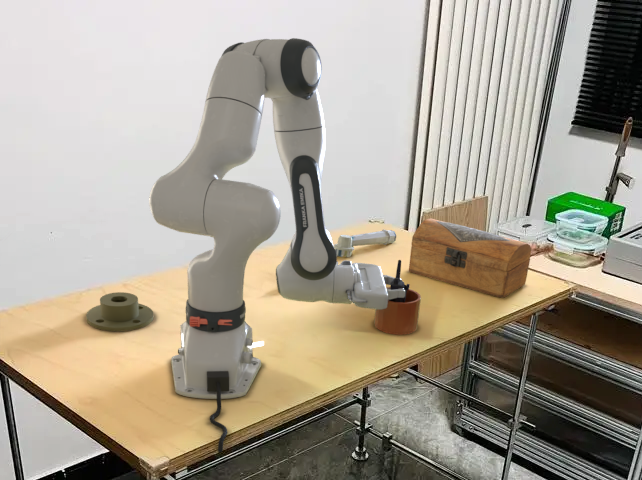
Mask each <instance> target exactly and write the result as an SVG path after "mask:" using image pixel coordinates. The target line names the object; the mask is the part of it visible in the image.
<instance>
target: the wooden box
mask: <svg viewBox="0 0 642 480" xmlns="http://www.w3.org/2000/svg"><path fill="white" fill-rule="evenodd" d="M410 247H411V248H410V256H409V265H408V272H409V273H412V274H415V275H420V276H422V277H426V278H430V279H433V280H436V281H439V282H443V283H446V284H449V285H454V286H458V287H462V288H466V289H469V290H473V291H474V292H478V293H482V294H486V295H488V296H492V297H496V298H499V299H504V298H506V297H507V296H509V295H511V294H513V293H514V292H516V291H517V290H519V289H520V288H521V287H523V286H525V285H526V282H527V278H528V272H529V268H530V263H531V256H532V247H531V245H530V244H529V243H527V242H525V241H521V240H517V239H513V238H509V237H505V236H502V235H498V234H495V233H492V232H488V231H485V230H480V229H476V228H473V227H469V226H466V225H461V224H456V223H452V222H447V221H442V220H438V219H434V218H431V217H430V218H426V219H424V220H423V221H422V222H420V224H419V226H418V227H417V228H416V230H415V231H414V233H413V235H412V237H411V246H410Z"/></svg>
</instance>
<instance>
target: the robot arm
mask: <svg viewBox="0 0 642 480" xmlns="http://www.w3.org/2000/svg"><path fill="white" fill-rule="evenodd" d="M322 70H323V67H322V60H321V56H320V54H319V52H318V49H316V47H315V46H314V44H313V43H312V42H311V41H309V40H306V39H302V38H295V37H293V38H289V39H287V38H285V39H284V38H271V39H270V38H262V39H261V38H260V39H256V40H250V41H247V42H237V43H234V44H232V45H230V46H228V47H226V49H224V51H222V54H221V57H220V58H219V59H218V61H217V63H216V66H215V68H214V70H213V73H212V76H211V79H210V82H209V85H208V89H207V93H206V96H205V102H204V107H203V111H202V116H201V120H200V125H199V129H198V132H197V135H196V139H195V141H194V143H193V145H192V147H191V149H190V151H189V152H188V154H187V155H186V156H185V158H183V160H182V161H181V162H180V163H179V164H178V165H177V166H176V167H175V168H173V169H171V171H169V172H167V173H166V174H164V175H161V176H160V177H158V179H156V181H155V182H154V183H153V185H152V187H151V189H150V192H149V196H148V197H149V198H148V206H149V211H150V214H151V216H152V218H153V219H154V221H155V222H156V223H157V224H158V225H161V226H163V227H165V228H167V229H170V230H173V231H175V232H178V233H184V234H190V235H191V234H192V235H198V236H206V237H210V238H213V248H212V249H209V250H207V251H203V252H202V253H199V254H198V255H195V256H194V257H193V258H192V259H191V261H190V262H189V264H188V266H187V270H186V271H187V272H186V274H187V300H186V301H185V321H184V322H183V323H181V324H180V327H179V328H180V347H178V349H177V354H176V355H173V356H171V359H170V364H171V371H172V372H171V373H172V378H173V385H174V392H175V393H176V394H177V395H180V396H184V397H187V398H193V399H195V398H196V399H207V400H216V411H215V412H214V413H213V414H211V415H210V416H209V419H208V420H209V422H210V424H211V425H213V426H215V427H216V428H219V429H221V431H222V433H221V435H220V437H219V438H218V439H219V440H218V446H217V447H218V448H217V452H218V453H223V449H224V441H225V439H226V437H227V436H228V429H227V427H226V425H224V424H222V423H220V422H218V421H217V420H215V419H216V418H218V416H219V415H220V414H221V411H222V400H226V399H228V400H229V399H235V398H240V397H244V396H246V395H247V394H248V392H249V390H250V388H251V386H252V384H253V382H254V381H255V378H256V376H257V374H258V373H259V370H260V369H261V367H262V360H261V359H260V358H258V357H256V356H254V354H253V352H254V350H253V349H254V348H258V347H263V346H265V341H264V340H261V341H255V342H254V340H253V328H252V326H250V325H249V324H248V322H247V321H246V312H247V310H246V309H247V308H246V301H245V300H244V283H245V282H244V281H245V272H246V267H247V263H248V261H249V259H250V257H251V256H252V253H254V251H255V250H256V249H257V248H258V247H259V246H260V245H261V244H263V243H264V242H266V241H268V240H269V239H270V238H271V237H272V236H273V235H274V234H275V233H276V231H277V229H278V228H279V225H280V222H281V217H282V216H281V214H282V211H281V206H280V202H279V200H278V198H277V196H276V194H275V193H274V192H273V191H272V190H270V189H268V188H264V187H262V186H259V185H256V184H253V183H251V182H243V181H237V180H229V179H224V177H225V176H226V175H227V173H229V171H231V170H233V169H235V168H236V167H239V166H241V165H244V164H246V163H247V162H249V161H250V160H251V159H252V158H253V156H254V154H255V152H256V148H257V145H258V139H259V133H260V129H261V123H262V118H263V112H264V106H265V98H266V99H270V100H271V102H272V124H273V125H272V126H273V133H274V140H275V144H276V149H277V154H278V156H279V160H280V162H281V165H282V169H283V171H284V174H285V176H286V179H287V182H288V184H289V188H290V191H291V198H292V205H293V214H294V222H295V223H294V224H295V232H294V234H293V236H292V239H291V241H290V244H289V247H288V249H287V251H286V253H285V255H284V257H283V258H282V260H281V262H279V264H278V265H277V266H276V268H275V280H276V288H277V291H278V293H279V296H281V297H282V298H283V299H286V300H288V301H289V300H290V301H293V302H295V301H296V302H303V303H317V302H326V303H329V304H341V305H352V304H354V306H355V307H358V308H362V309H369V310H375V309H379V310H382V309H386V308H387V304H388V299H390V300H391V299H394V298H397V297H398V298H404V297H405V289H404V288H397V289H395V290H391V289H386V287H387V286H391V282H392V281H393V280H394V279H395V278H396V277H394V276H391V275H388V274H383V272H382V267H381V266H379V265H377V264H374V263H365V262H352V261H351V260H348V259H347V260H345V259H344V260H342V261H341V262H340V264H339V263H338V266H336V262H337V261H338V256H337V254H336V251H335V248H334V245H335V244H334V241H333V237H332V235H331V232H330V231H329V230H328V229H327V228H326V225H325V216H324V208H323V199H322V178H323V171H324V165H325V155H326V127H325V126H326V125H325V118H324V112H323V111H324V110H323V105H322V101H321V97H320V92H319V90H318V86H319V84H320V81H321V78H322ZM400 280H402V278H401V277H400Z"/></svg>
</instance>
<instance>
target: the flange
mask: <svg viewBox="0 0 642 480" xmlns="http://www.w3.org/2000/svg"><path fill="white" fill-rule="evenodd" d="M85 315H86V323H87V324H88V325H89V326H90V327H92V328H95V329H97V330H102V331H107V332H128V331H129V332H130V331H135V330H139V329H141V328H145V327H146V326H149V325H150V324H151V323H152V322H153V320H154V311H153V309H151V307H149V306H148V305H145V304H142V303H139V297H138V296H137V295H136V294H134V293H129V292H121V291H119V292H118V291H117V292H110V293H106V294H104V295H102V296H101V297H100V298H99V304H98V305H96V306H94V307H92V308H90V309H89V310H88V311H87V313H86V314H85Z"/></svg>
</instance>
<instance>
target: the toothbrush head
mask: <svg viewBox="0 0 642 480" xmlns="http://www.w3.org/2000/svg"><path fill="white" fill-rule="evenodd" d="M396 240H397V233H396V231H395V230H392V229H385V228H384V229H382V230H378V231H372V232H366V233H365V232H364V233H359V234H353V235H349V234H340V235H339V236H338V239H337V243H335V244H333V245H334V248H335V251H336V254H337V257H340V258H343V257H345V258H350V257H352V254H353V251H354V250H355V247H361V246H372V245H373V246H374V245H384V246H386V245H388V244H393V243H395V242H396Z"/></svg>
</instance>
